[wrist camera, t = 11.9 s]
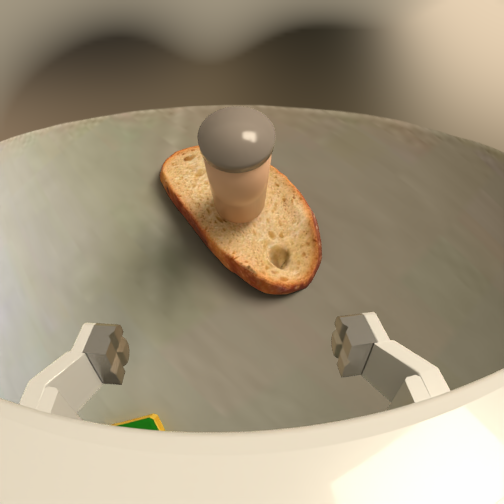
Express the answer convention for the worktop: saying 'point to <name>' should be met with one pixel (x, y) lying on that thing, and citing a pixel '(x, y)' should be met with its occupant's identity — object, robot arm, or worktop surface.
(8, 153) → the worktop surface
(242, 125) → the grey-capped jar
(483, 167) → the worktop surface
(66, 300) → the worktop surface
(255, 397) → the worktop surface
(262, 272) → the slice of bread
